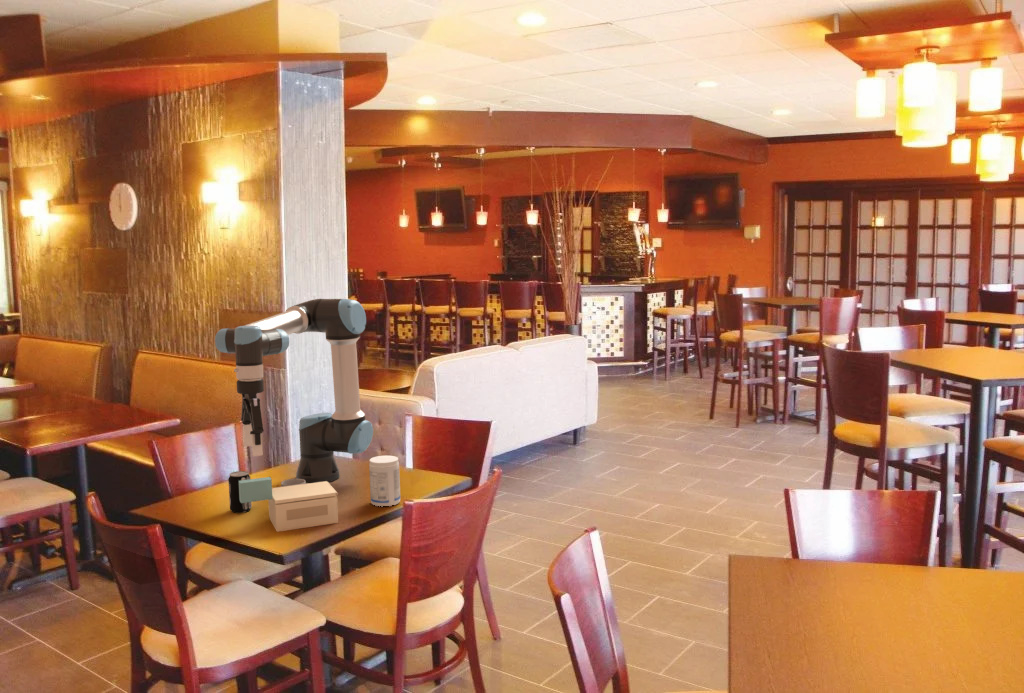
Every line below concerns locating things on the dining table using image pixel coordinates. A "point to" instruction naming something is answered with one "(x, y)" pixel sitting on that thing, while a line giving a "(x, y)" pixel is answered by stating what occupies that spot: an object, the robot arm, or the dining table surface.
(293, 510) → the carton
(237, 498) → the beverage can
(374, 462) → the supplement tub
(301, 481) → the cup
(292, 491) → the flap
